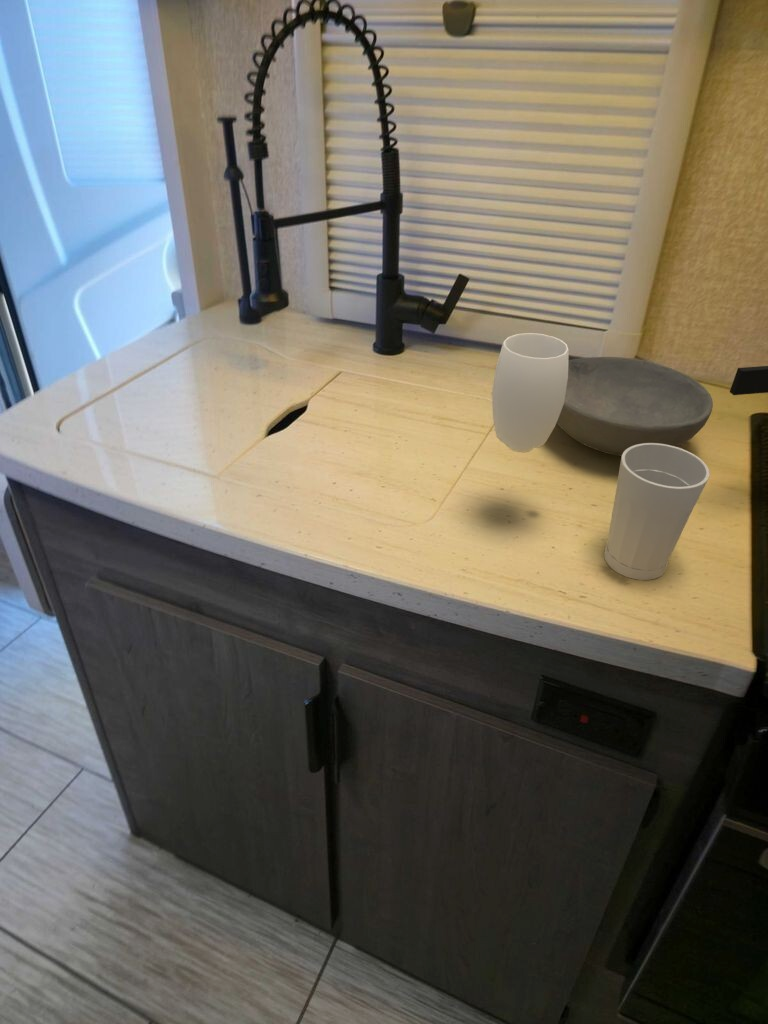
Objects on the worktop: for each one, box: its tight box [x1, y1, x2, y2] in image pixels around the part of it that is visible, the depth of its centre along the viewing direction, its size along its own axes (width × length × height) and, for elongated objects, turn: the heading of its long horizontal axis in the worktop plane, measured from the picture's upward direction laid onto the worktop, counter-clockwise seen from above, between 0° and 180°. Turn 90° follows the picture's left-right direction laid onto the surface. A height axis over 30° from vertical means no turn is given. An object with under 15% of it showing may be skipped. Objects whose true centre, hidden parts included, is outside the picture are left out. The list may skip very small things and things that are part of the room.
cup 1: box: [491, 332, 570, 454], centre depth 70 cm, size 7×7×21 cm
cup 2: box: [603, 443, 711, 581], centre depth 67 cm, size 8×8×12 cm
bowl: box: [556, 356, 714, 457], centre depth 88 cm, size 21×21×8 cm
